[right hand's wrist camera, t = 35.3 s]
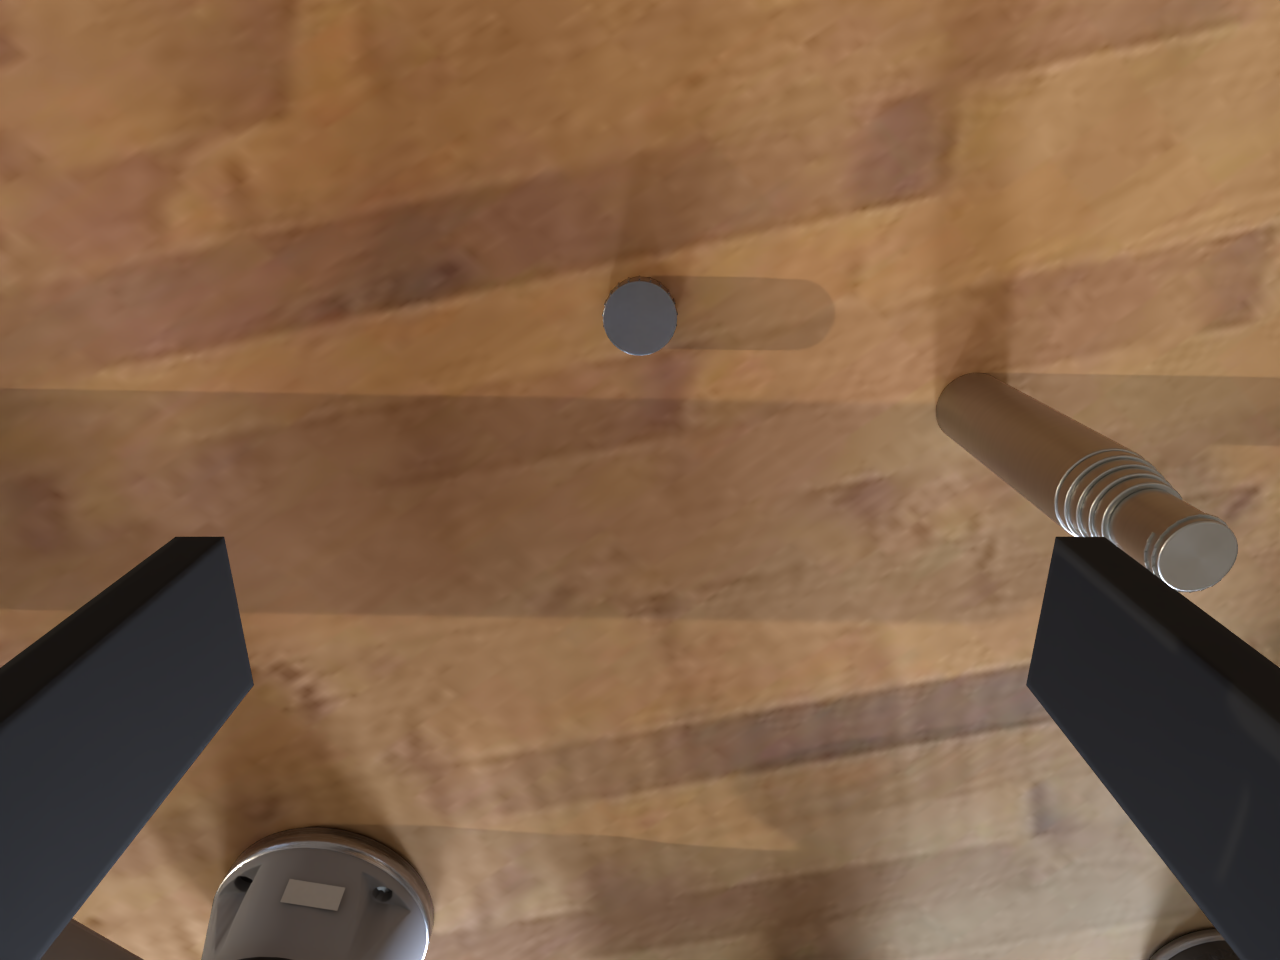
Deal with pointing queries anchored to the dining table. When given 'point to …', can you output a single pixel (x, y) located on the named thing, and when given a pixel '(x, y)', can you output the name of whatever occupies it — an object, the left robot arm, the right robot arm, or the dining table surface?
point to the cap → (639, 316)
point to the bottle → (1086, 481)
